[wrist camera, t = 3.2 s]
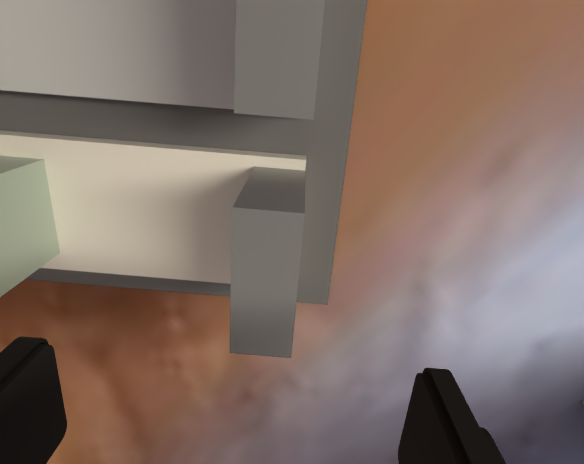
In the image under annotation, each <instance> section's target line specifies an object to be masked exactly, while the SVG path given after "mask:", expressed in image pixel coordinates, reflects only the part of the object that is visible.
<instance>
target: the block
mask: <svg viewBox="0 0 584 464" xmlns="http://www.w3.org/2000/svg"><path fill="white" fill-rule="evenodd" d="M59 253H60V249H59V244H58V238H57V232H56V226H55V220H54V214H53V208H52V203H51V197H50V191H49V185H48V179H47V173H46V167H45V161H44V159H37V158H25V157H13V156H1V155H0V297H1V296H3V295H4V294H5V293H7V292H8V291H9V290H11V289H12V288H13V287H15V286H16V285H17V284H19V283H20V282H22V281H23V280H24V279H26V278H27V277H28V276H30V275H31V274H32V273H34V272H35V271H36V270H38V269H39V268H40V267H42V266H43V265H45V264H46V263H47V262H49V261H50V260H51V259H53V258H54V257H55V256H57V255H58V254H59Z"/></svg>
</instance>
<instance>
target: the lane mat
mask: <svg viewBox="0 0 584 464" xmlns="http://www.w3.org/2000/svg"><path fill="white" fill-rule="evenodd" d="M366 7H367V0H325V5H324V15H323V26H322V36H321V47H320V57H319V68H318V79H317V89H316V100H315V110H314V120H310V119H298V118H286V117H274V116H262V115H250V114H238V113H234V109H222V108H210V107H198V106H186V105H174V104H162V103H150V102H138V101H126V100H114V99H102V98H90V97H78V96H65V95H53V94H41V93H29V92H17V91H5V90H0V130H3V131H15V132H27V133H39V134H51V135H63V136H75V137H87V138H99V139H111V140H123V141H135V142H147V143H159V144H171V145H183V146H195V147H207V148H219V149H231V150H243V151H255V152H267V153H279V154H291V155H303V156H306V168H305V216H304V227H303V237H302V248H301V258H300V269H299V279H298V290H297V300H296V302H301V303H313V304H325V305H327V304H328V297H329V289H330V281H331V274H332V266H333V258H334V251H335V243H336V236H337V228H338V220H339V213H340V205H341V198H342V190H343V182H344V175H345V167H346V159H347V152H348V144H349V137H350V129H351V121H352V114H353V106H354V98H355V91H356V83H357V76H358V68H359V60H360V53H361V45H362V38H363V30H364V22H365V15H366ZM26 279H29V280H41V281H53V282H64V283H76V284H88V285H100V286H112V287H124V288H136V289H147V290H159V291H171V292H183V293H195V294H207V295H218V296H230V297H231V284H226V283H214V282H202V281H190V280H179V279H167V278H155V277H143V276H131V275H119V274H107V273H96V272H84V271H72V270H60V269H48V268H39V269H38V270H36V271H35V272H34V273H32V274H31V275H30V276H28V277H27V278H26Z"/></svg>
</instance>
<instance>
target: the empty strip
mask: <svg viewBox="0 0 584 464" xmlns="http://www.w3.org/2000/svg"><path fill="white" fill-rule="evenodd" d="M324 5H325V0H0V90H5V91H17V92H29V93H41V94H53V95H65V96H78V97H90V98H102V99H114V100H126V101H138V102H150V103H162V104H174V105H186V106H198V107H210V108H222V109H234V113H238V114H250V115H262V116H274V117H286V118H298V119H310V120H314V110H315V100H316V89H317V79H318V68H319V57H320V47H321V36H322V26H323V15H324Z"/></svg>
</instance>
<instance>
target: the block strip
mask: <svg viewBox="0 0 584 464" xmlns="http://www.w3.org/2000/svg"><path fill="white" fill-rule="evenodd" d="M0 155H1V156H13V157H25V158H37V159H44V161H45V167H46V173H47V179H48V185H49V191H50V197H51V203H52V208H53V214H54V220H55V226H56V232H57V238H58V244H59V249H60V253H59V254H58V255H57V256H55V257H54V258H53V259H51V260H50V261H49V262H47V263H46V264H45V265H43V266H42V267H40V268H48V269H60V270H72V271H84V272H96V273H107V274H119V275H131V276H143V277H155V278H167V279H179V280H190V281H202V282H214V283H226V284H231V306H230V353H236V354H248V355H260V356H272V357H284V358H291V353H292V343H293V332H294V322H295V311H296V300H297V290H298V279H299V269H300V258H301V248H302V237H303V227H304V216H305V168H306V156H303V155H291V154H279V153H267V152H255V151H243V150H231V149H219V148H207V147H195V146H183V145H171V144H159V143H147V142H135V141H123V140H111V139H99V138H87V137H75V136H63V135H51V134H39V133H27V132H15V131H3V130H0Z"/></svg>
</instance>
